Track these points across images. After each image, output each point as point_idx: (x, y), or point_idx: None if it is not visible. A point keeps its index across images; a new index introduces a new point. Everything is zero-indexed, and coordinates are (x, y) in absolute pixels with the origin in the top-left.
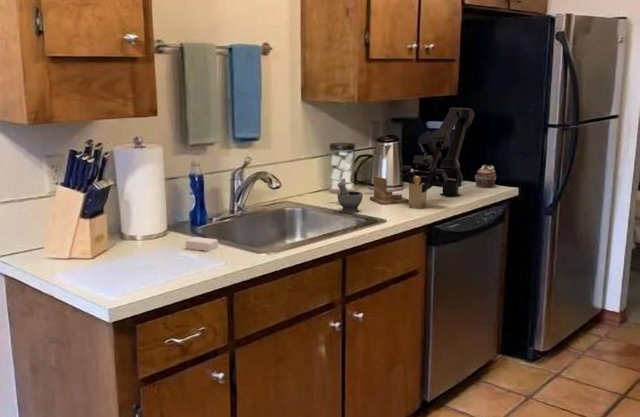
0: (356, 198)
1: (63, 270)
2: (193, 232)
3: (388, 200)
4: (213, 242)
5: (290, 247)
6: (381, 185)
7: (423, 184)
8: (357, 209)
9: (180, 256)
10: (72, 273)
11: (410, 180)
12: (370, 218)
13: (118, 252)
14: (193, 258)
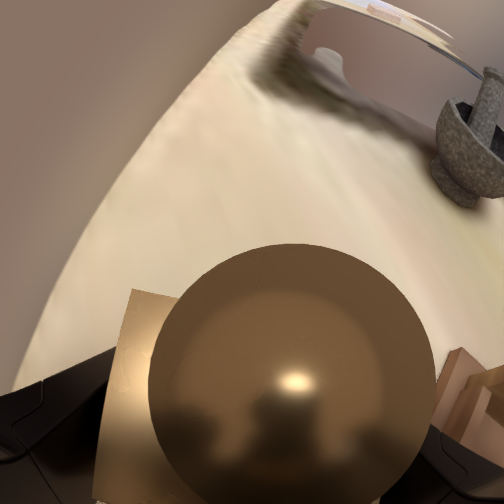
0: (442, 109)
1: (395, 8)
2: (447, 54)
3: (457, 402)
4: (372, 6)
5: (308, 4)
6: None
7: (115, 367)
8: (439, 175)
9: None
10: (384, 3)
11: (445, 448)
12: (325, 101)
13: (416, 23)
14: (357, 3)
